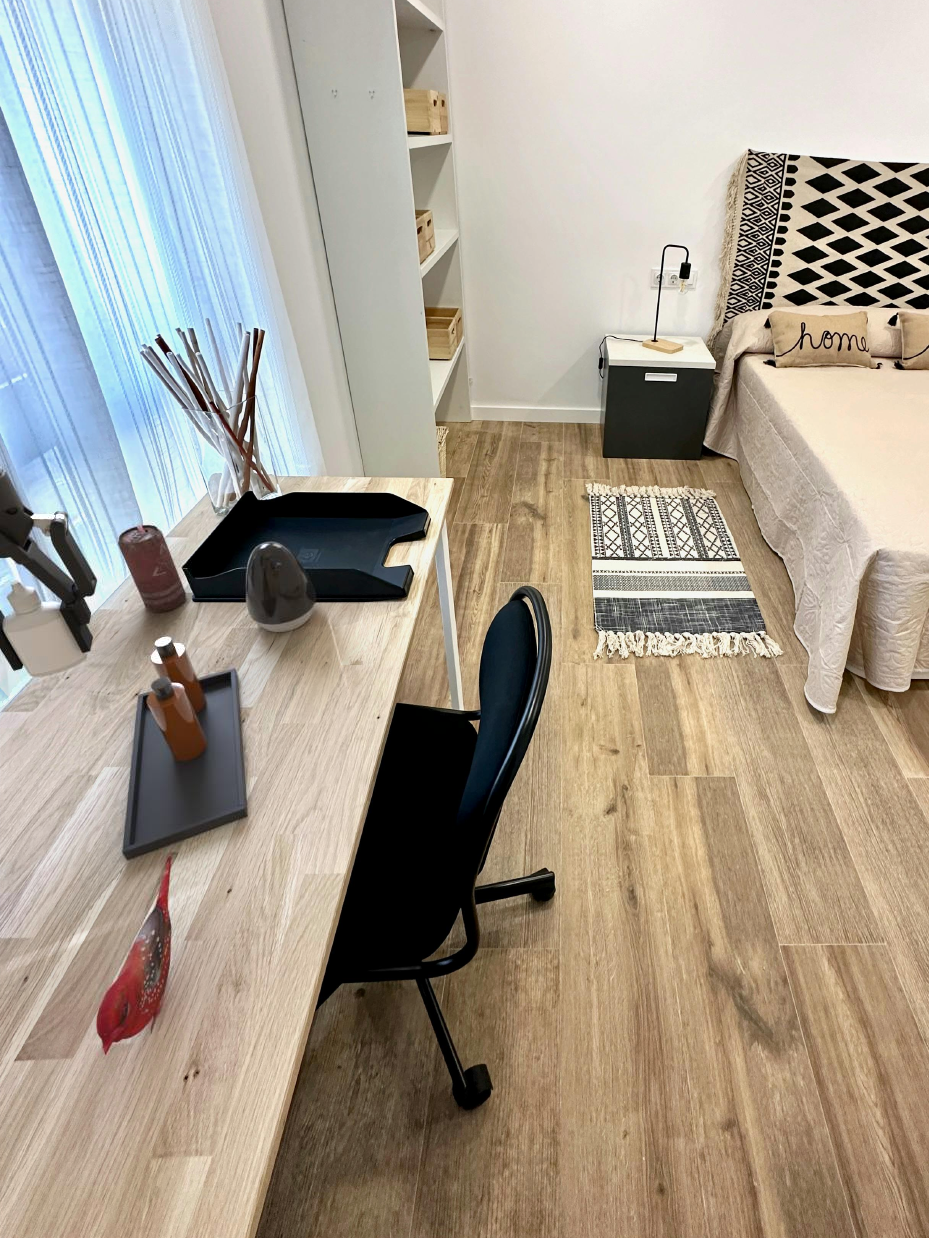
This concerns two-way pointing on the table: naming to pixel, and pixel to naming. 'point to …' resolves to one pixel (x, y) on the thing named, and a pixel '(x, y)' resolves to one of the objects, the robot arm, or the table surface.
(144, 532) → the can
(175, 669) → the amber bottle
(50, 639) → the eye dropper bottle
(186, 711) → the amber bottle
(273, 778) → the table surface
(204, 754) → the tray
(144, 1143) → the table surface
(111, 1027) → the decorative bird figurine
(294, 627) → the dark grey rounded cone
